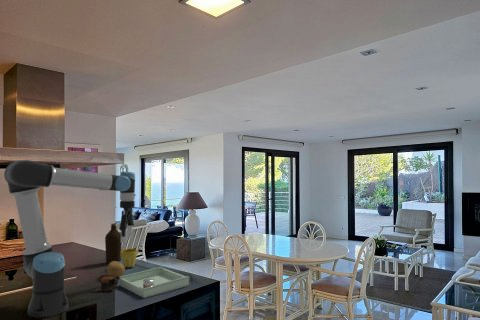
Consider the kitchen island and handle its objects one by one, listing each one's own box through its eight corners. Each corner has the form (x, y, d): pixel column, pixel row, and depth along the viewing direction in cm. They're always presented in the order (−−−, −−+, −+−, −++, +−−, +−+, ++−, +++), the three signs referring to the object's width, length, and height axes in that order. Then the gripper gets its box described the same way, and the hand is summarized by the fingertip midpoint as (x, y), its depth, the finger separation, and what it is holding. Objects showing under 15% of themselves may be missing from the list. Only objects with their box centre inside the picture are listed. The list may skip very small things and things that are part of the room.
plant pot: (116, 267, 210) (117, 251, 210) (126, 263, 220) (126, 248, 220) (131, 268, 207) (131, 252, 208) (140, 264, 217) (140, 249, 217)
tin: (146, 295, 161) (146, 282, 161) (141, 292, 165) (141, 280, 165) (155, 292, 165) (155, 280, 165) (150, 290, 168) (150, 277, 168)
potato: (110, 281, 183) (110, 267, 184) (104, 275, 195) (104, 261, 195) (128, 278, 189) (128, 264, 189) (121, 272, 200) (121, 258, 201)
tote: (144, 299, 158) (144, 289, 159) (119, 285, 177) (119, 276, 177) (189, 285, 177) (189, 276, 177) (162, 274, 195) (162, 266, 195)
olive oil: (122, 262, 222) (122, 224, 223) (105, 264, 218) (105, 225, 219) (121, 258, 232) (121, 222, 233) (104, 260, 228) (104, 223, 228)
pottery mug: (92, 292, 168) (95, 275, 172) (105, 294, 176) (107, 278, 180) (111, 289, 164) (113, 272, 169) (124, 292, 172) (126, 275, 176)
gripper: (129, 202, 169) (128, 244, 168) (139, 198, 194) (138, 235, 193) (113, 202, 168) (113, 245, 168) (125, 198, 193) (125, 235, 192)
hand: (126, 240), depth 180 cm, fingers open, 13 cm apart
